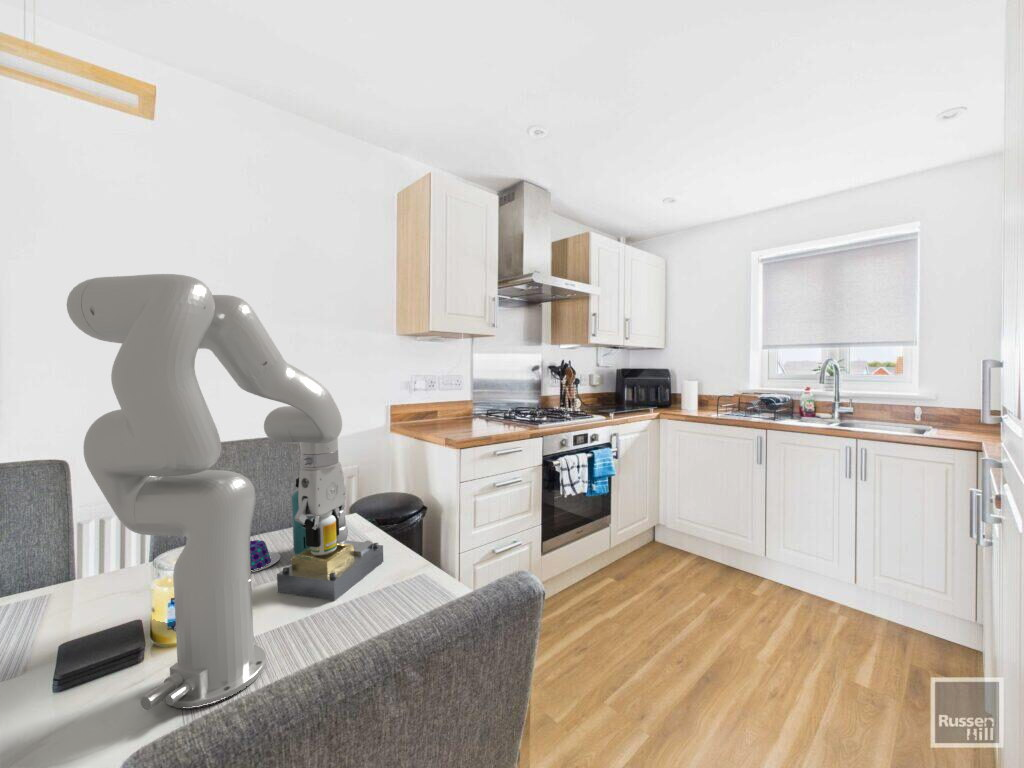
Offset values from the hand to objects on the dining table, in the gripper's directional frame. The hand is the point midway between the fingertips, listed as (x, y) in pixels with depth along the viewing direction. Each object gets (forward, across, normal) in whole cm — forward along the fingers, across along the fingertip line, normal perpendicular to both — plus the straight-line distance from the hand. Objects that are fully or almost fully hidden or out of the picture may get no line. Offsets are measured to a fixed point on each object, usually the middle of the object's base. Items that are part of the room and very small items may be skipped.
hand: (323, 539), depth 95 cm
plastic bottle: (+9, +18, +11) cm, 23 cm away
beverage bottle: (+9, +10, +13) cm, 19 cm away
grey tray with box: (+9, +3, -1) cm, 10 cm away
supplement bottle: (+3, 0, 0) cm, 3 cm away
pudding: (+10, +3, +23) cm, 25 cm away
